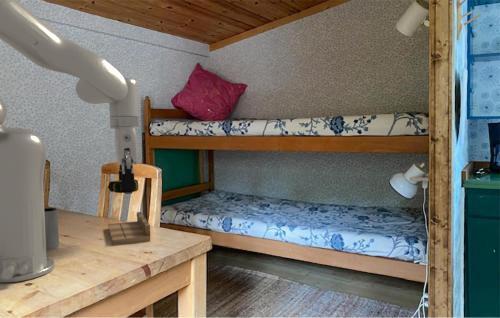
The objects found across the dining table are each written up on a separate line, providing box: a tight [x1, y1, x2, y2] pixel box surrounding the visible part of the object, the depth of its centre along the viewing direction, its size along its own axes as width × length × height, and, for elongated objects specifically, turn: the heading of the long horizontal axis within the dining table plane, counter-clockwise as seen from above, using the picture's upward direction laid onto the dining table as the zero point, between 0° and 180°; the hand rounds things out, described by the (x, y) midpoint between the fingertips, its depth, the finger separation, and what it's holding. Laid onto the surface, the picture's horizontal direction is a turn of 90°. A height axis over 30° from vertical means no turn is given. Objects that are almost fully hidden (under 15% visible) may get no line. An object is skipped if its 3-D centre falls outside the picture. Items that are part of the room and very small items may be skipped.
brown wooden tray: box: [107, 211, 151, 246], centre depth 111 cm, size 19×10×4 cm, turn 24°
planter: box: [44, 207, 60, 251], centre depth 99 cm, size 4×4×10 cm
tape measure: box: [107, 179, 139, 195], centre depth 104 cm, size 7×7×4 cm
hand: (126, 186), depth 104 cm, fingers closed on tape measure, 7 cm apart
